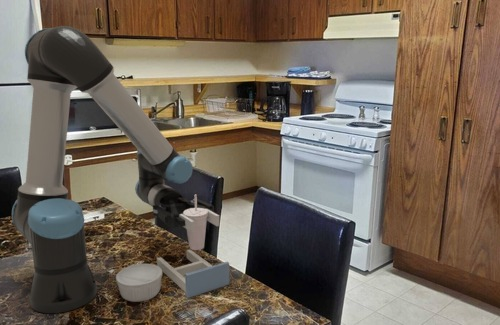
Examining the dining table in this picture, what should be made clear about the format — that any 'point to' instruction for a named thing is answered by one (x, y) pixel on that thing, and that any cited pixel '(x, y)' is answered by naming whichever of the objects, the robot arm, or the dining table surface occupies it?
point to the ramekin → (139, 282)
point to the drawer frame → (196, 274)
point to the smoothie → (197, 226)
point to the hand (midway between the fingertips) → (205, 223)
